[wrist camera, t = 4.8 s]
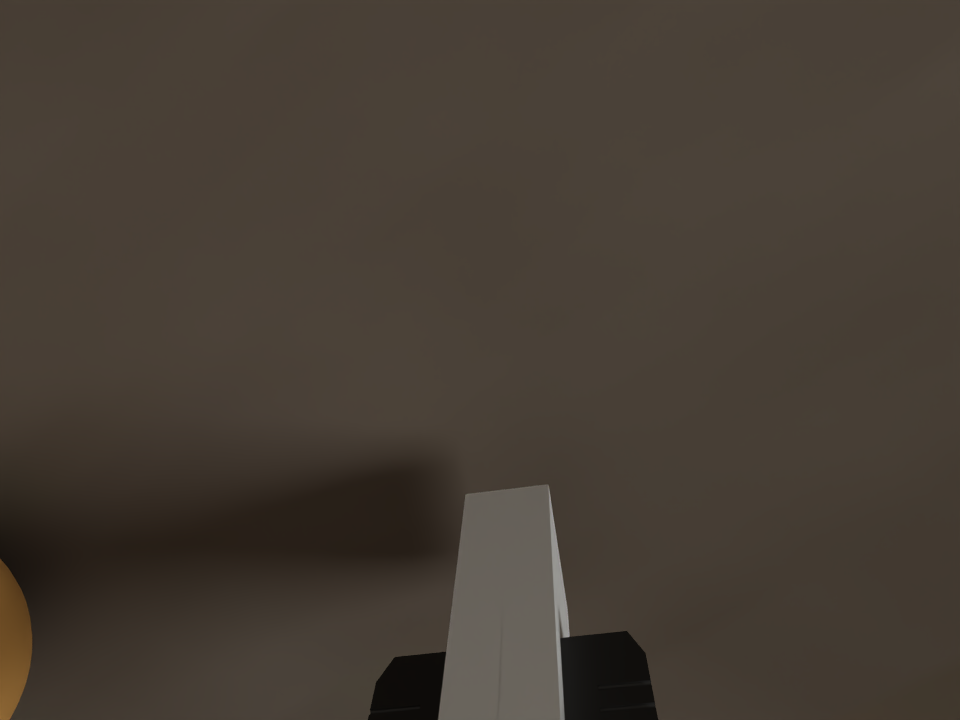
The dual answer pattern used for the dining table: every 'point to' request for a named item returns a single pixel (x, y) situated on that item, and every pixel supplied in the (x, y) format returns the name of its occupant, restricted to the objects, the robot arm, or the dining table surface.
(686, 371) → the dining table surface
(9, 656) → the ball
